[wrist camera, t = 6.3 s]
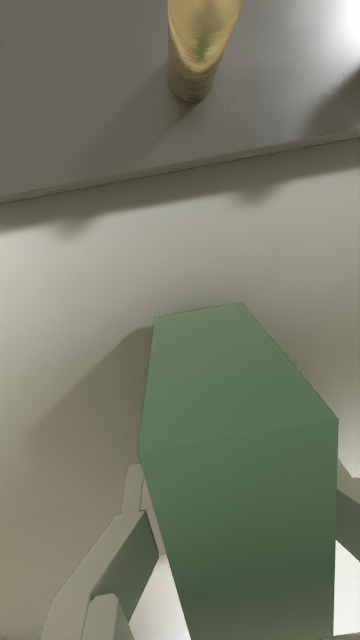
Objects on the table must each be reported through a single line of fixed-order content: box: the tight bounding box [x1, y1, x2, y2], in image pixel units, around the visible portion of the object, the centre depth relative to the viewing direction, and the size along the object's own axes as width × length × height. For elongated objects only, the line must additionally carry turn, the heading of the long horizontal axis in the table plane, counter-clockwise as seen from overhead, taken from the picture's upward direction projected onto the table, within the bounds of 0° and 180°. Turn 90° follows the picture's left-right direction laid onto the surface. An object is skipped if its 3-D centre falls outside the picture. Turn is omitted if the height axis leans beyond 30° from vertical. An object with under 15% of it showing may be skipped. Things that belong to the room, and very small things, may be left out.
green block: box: [137, 302, 338, 640], centre depth 9 cm, size 3×9×6 cm, turn 10°
